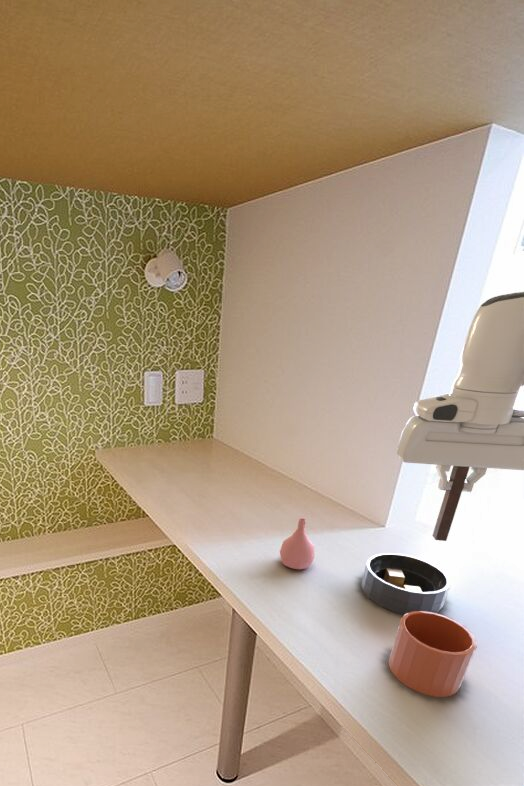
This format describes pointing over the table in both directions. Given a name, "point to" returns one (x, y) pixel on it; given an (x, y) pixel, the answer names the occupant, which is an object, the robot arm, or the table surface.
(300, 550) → the pink teardrop shaped piece
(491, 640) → the table surface
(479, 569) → the table surface
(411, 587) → the mustard block
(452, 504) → the stirring stick
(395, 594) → the bowl
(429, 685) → the holder
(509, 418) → the robot arm
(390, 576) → the maple block
